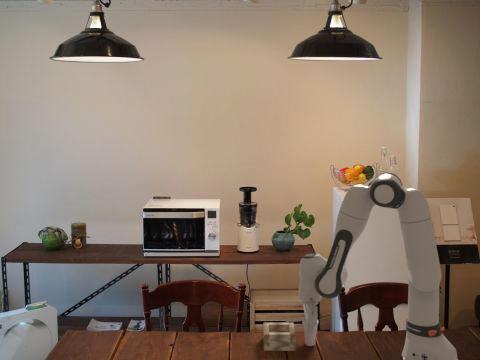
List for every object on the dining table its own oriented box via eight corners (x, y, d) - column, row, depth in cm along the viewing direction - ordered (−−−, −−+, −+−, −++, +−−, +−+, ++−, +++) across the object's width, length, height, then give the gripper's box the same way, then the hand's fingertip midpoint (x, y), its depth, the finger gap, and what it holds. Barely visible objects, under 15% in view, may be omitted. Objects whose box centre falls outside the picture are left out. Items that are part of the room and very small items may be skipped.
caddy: (293, 337, 252) (293, 322, 251) (295, 350, 240) (295, 334, 239) (263, 338, 252) (263, 322, 251) (264, 350, 240) (264, 334, 239)
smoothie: (317, 348, 242) (318, 313, 240) (301, 346, 244) (301, 312, 242) (319, 341, 249) (319, 307, 246) (302, 340, 250) (303, 306, 248)
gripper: (321, 304, 233) (320, 339, 235) (315, 286, 253) (314, 318, 255) (304, 303, 233) (303, 339, 235) (299, 286, 253) (299, 318, 255)
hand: (309, 328), depth 245 cm, fingers open, 8 cm apart
